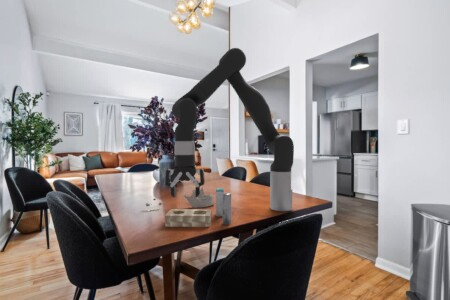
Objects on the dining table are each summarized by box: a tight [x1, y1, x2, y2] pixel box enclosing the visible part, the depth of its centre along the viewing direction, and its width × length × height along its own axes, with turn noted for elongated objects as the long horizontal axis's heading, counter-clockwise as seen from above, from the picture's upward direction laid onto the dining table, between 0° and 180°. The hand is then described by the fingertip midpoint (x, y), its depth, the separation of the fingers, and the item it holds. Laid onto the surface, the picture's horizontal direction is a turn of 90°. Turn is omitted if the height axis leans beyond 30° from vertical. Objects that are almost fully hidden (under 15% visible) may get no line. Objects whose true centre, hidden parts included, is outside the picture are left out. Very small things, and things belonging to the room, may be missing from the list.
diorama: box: [145, 198, 163, 212], centre depth 115 cm, size 9×27×4 cm, turn 16°
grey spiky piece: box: [183, 187, 215, 209], centre depth 115 cm, size 13×11×10 cm
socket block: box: [164, 208, 213, 228], centre depth 89 cm, size 16×8×4 cm, turn 88°
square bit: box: [215, 187, 225, 217], centre depth 98 cm, size 3×3×11 cm
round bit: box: [222, 192, 232, 226], centre depth 88 cm, size 3×3×11 cm
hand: (185, 196), depth 89 cm, fingers open, 8 cm apart
